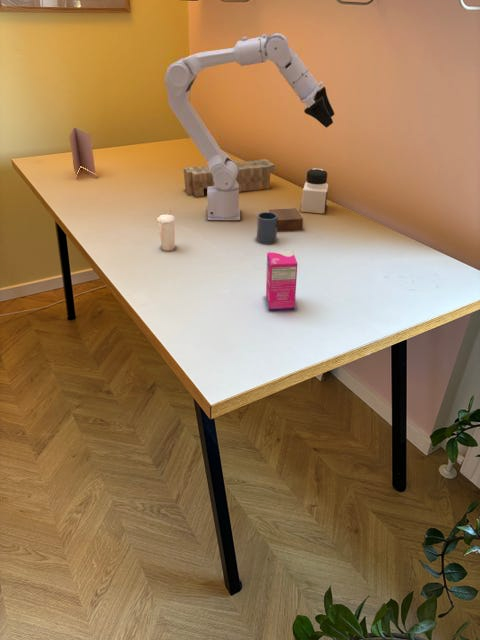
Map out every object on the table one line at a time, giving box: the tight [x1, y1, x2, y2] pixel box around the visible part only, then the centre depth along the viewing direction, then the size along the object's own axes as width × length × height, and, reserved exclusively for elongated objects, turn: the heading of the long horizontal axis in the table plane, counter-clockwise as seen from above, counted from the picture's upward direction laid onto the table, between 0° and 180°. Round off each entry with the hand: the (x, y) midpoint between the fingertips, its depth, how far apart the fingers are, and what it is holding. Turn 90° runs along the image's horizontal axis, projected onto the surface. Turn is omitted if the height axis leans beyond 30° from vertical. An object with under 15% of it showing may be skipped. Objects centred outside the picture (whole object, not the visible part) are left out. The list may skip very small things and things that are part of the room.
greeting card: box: [68, 127, 97, 181], centre depth 181 cm, size 11×7×15 cm, turn 6°
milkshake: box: [156, 207, 176, 252], centre depth 134 cm, size 5×5×10 cm
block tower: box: [183, 158, 275, 198], centre depth 172 cm, size 8×8×29 cm
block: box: [268, 207, 304, 233], centre depth 149 cm, size 8×8×4 cm
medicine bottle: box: [300, 168, 329, 215], centre depth 157 cm, size 7×7×12 cm
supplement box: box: [265, 250, 298, 312], centre depth 111 cm, size 6×6×12 cm
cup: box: [256, 211, 278, 245], centre depth 139 cm, size 5×5×7 cm
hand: (330, 120), depth 137 cm, fingers open, 7 cm apart
